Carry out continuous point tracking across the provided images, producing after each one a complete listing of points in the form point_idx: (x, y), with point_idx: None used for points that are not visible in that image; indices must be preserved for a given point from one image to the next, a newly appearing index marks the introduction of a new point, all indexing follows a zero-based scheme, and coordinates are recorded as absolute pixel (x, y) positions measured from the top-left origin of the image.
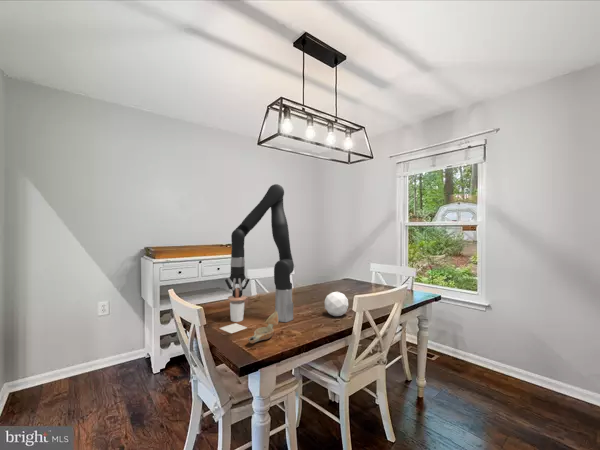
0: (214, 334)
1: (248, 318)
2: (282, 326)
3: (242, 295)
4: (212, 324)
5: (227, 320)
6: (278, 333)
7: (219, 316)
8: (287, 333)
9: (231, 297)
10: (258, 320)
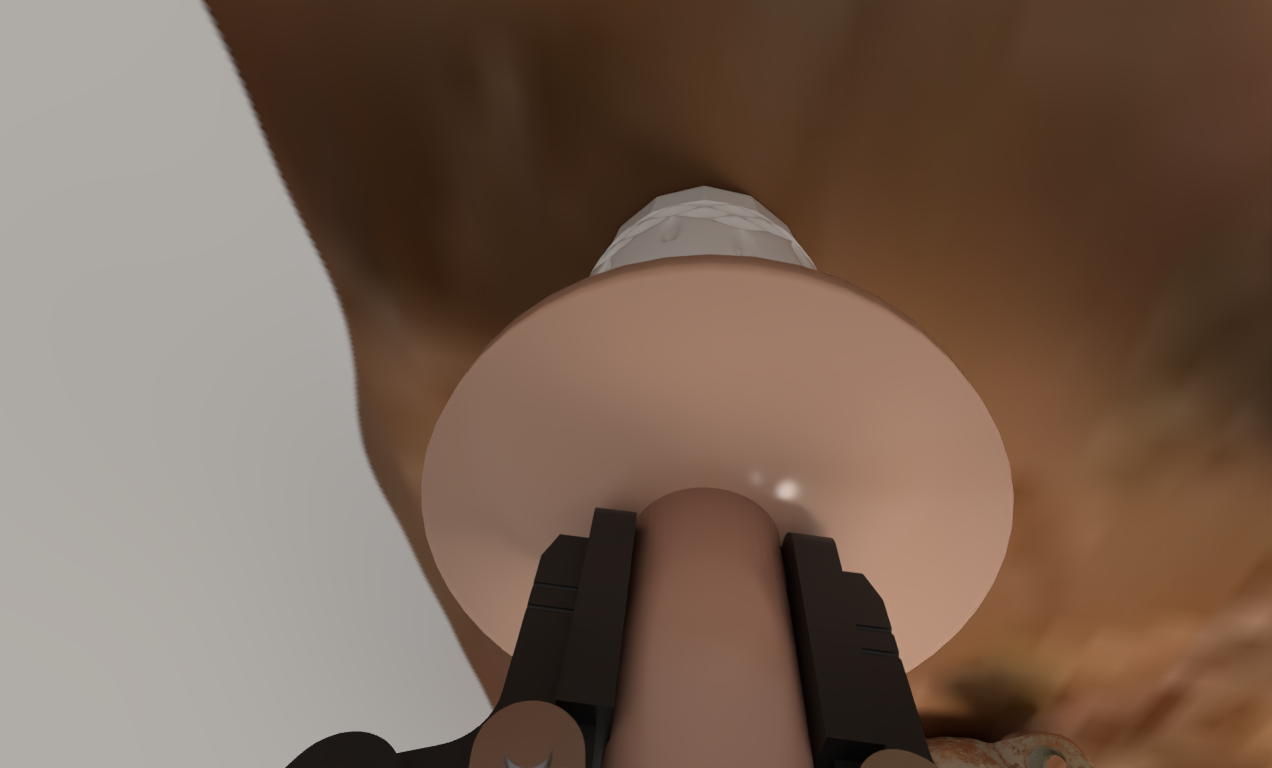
0: (485, 636)
1: (901, 226)
2: (1260, 600)
3: (903, 373)
4: (376, 387)
5: (552, 265)
6: (1106, 728)
7: (364, 10)
8: (1194, 743)
9: (527, 537)
10: (1040, 350)
